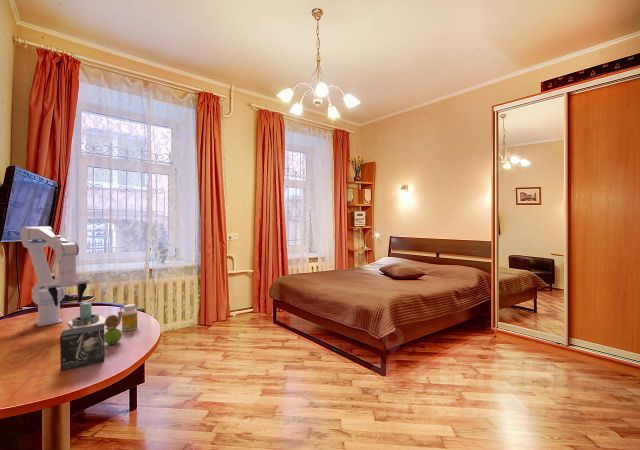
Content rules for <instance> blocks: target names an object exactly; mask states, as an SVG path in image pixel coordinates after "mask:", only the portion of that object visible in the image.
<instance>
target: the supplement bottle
mask: <svg viewBox="0 0 640 450" xmlns="http://www.w3.org/2000/svg"><path fill="white" fill-rule="evenodd" d="M137 328H138V310H137V309H136V304H135V303H128V304H124V305H123V310H122V317H121V330H122V331H123V332H128V331H134V330H136V329H137Z"/></svg>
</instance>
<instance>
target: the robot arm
mask: <svg viewBox="0 0 640 450" xmlns="http://www.w3.org/2000/svg"><path fill="white" fill-rule="evenodd" d="M19 237H20V240H21V244H22V245H23V246H22V247H23V248H25V249H27V250H28V252H29V257H30V261H31V264H32V266H33V267H32V268H33V270H34V274H35V276H36V280H37V283H36V284H35V285H33V287H32V288H31V299H32V302H33V303H34V304H36V305H37V311H38V313H37V314H38V315H37V316H38V320H37V321H35V323H36V326H38V327H43V326H49V325H54V324H58V323H63V322H64V321H63V319H62V318H61V306H60V305H61V303H60V302H61V301H62V300H63V299H64V298H65V295H66V294H65V293H66V290H65V288H67V287H75V286H76V287H77V302H78V303H81V302H82V298H83V295H84V292H85V291H86V289H87V287H88V285H90V279H88V278H87V279H86V278H85V279H77V256H78V255H79V252H80V246H79V245H78V243H77V242H74V241H73V242H69V241H68V240H67V239H66V238H64V237H63V236H62V235H61V234H60V235H59V234H58V235H56V234H55V233H54V231H53V228H52V227H51V226H50V225H47V226H23V227H22V228H21V229H20V233H19ZM47 246H48V247H49V248H51V249H52V250H53V251H54V254H55V257H56V262H58V280H56V279H53V275H52V272H51V270H50V266H49V263H48V260H47V257H46V253H45V250H44V248H46V247H47Z"/></svg>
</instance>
